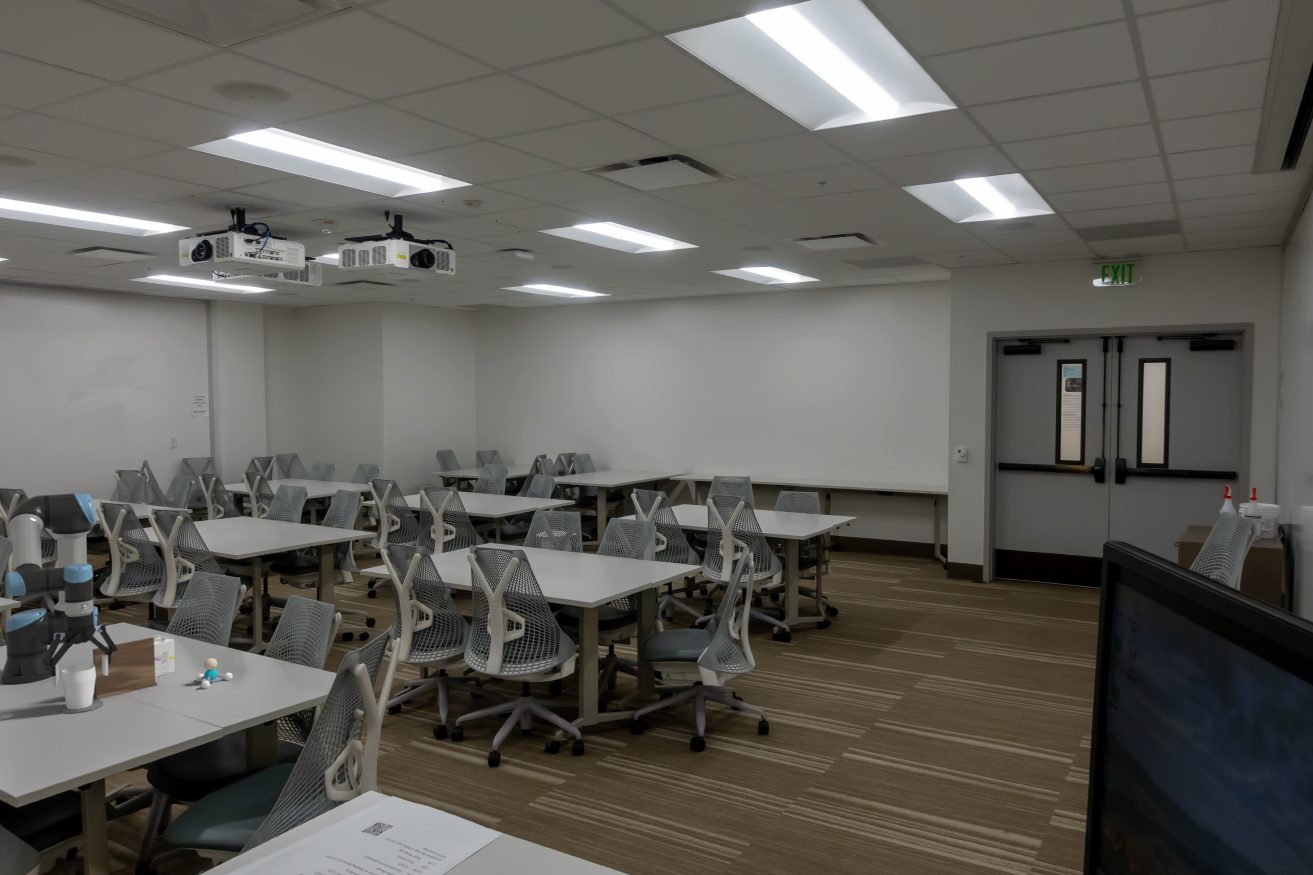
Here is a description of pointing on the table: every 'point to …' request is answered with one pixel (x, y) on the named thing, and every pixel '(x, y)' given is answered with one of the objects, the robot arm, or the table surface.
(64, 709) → the grey smooth rounded part
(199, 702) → the table surface
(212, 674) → the molecule model
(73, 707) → the cup
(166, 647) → the ink box
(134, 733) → the table surface
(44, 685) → the table surface
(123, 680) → the brown wooden slab
